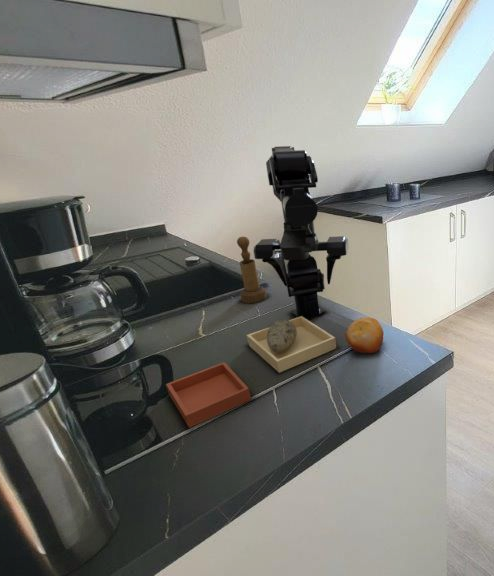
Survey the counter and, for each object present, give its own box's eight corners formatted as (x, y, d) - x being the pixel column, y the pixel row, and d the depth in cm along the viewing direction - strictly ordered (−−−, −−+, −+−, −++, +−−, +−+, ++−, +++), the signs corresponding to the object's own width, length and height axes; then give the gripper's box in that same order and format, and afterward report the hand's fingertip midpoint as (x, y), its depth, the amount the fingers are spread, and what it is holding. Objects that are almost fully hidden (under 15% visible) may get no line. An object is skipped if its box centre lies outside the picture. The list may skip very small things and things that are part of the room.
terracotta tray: (169, 395, 74) (165, 383, 73) (227, 372, 81) (224, 361, 80) (189, 428, 66) (185, 415, 65) (251, 399, 73) (248, 388, 72)
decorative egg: (269, 335, 92) (258, 358, 83) (273, 311, 90) (263, 333, 81) (296, 339, 93) (288, 363, 84) (301, 317, 91) (293, 338, 82)
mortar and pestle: (251, 305, 111) (238, 241, 104) (236, 300, 114) (223, 238, 107) (271, 296, 116) (260, 235, 109) (257, 292, 119) (245, 232, 112)
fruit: (392, 332, 92) (384, 313, 86) (382, 364, 87) (373, 346, 81) (360, 328, 94) (349, 309, 88) (348, 359, 90) (336, 341, 83)
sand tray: (248, 345, 90) (246, 335, 89) (303, 325, 99) (301, 315, 98) (279, 372, 80) (277, 361, 79) (336, 348, 89) (335, 337, 88)
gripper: (237, 225, 75) (253, 301, 81) (339, 222, 77) (347, 297, 83) (256, 212, 85) (268, 281, 91) (345, 210, 87) (351, 277, 93)
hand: (308, 284), depth 89 cm, fingers open, 9 cm apart
